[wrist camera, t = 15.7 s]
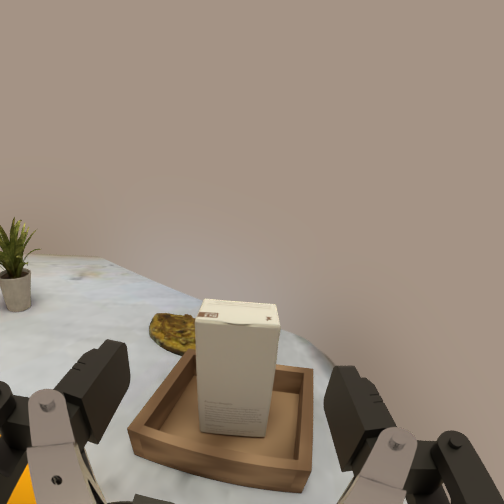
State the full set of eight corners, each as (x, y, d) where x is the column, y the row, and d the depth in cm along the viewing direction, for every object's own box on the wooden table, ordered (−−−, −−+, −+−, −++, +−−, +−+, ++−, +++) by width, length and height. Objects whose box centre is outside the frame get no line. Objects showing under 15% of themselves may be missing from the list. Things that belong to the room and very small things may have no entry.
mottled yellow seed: (133, 335, 41) (203, 378, 33) (127, 308, 40) (200, 348, 32) (175, 313, 48) (246, 344, 41) (172, 289, 47) (246, 316, 39)
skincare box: (264, 409, 26) (279, 301, 24) (265, 441, 22) (285, 325, 19) (202, 404, 26) (204, 294, 23) (196, 435, 22) (194, 317, 19)
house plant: (-6, 292, 41) (-14, 213, 37) (49, 288, 49) (44, 209, 46) (-20, 322, 30) (-35, 223, 26) (47, 317, 38) (38, 217, 35)
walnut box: (134, 454, 18) (127, 428, 18) (188, 373, 32) (188, 348, 31) (301, 493, 16) (311, 470, 16) (307, 393, 30) (313, 368, 29)
